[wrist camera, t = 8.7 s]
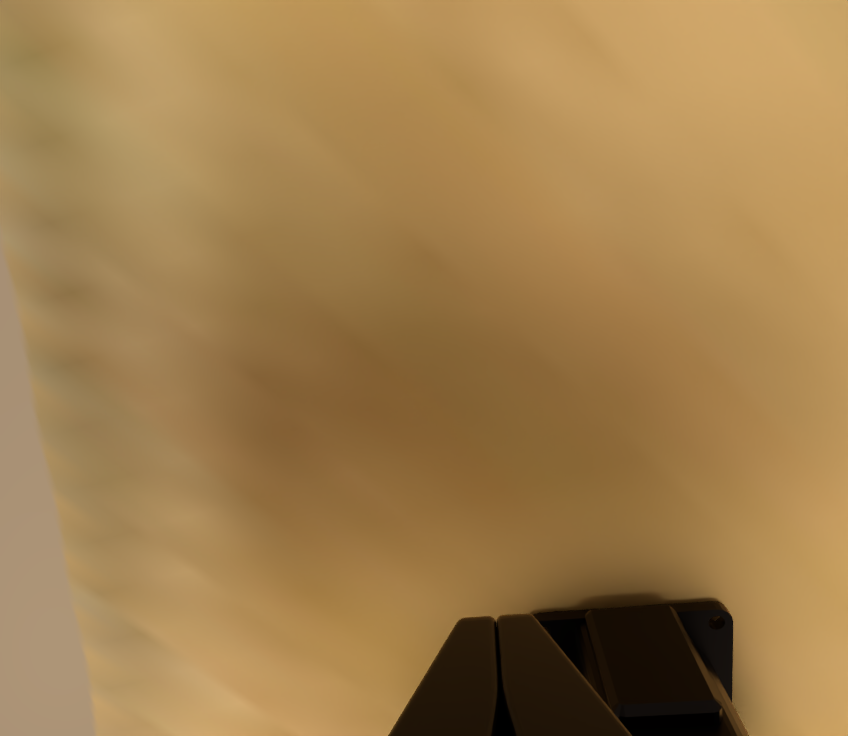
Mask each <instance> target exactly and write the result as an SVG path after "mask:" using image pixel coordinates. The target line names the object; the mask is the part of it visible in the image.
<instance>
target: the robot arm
mask: <svg viewBox="0 0 848 736" xmlns="http://www.w3.org/2000/svg"><path fill="white" fill-rule="evenodd" d="M715 616H720V617H719V618H718V619H717V620H715V621H709V620H710V619H711V618H712V617H715ZM496 624H497V626H496ZM543 627H544V628H547V630H545V629H544V628H543ZM732 665H733V619H732V616H731V614H730V613H729V611H728V610H727V608H726V607H725V606H724V605H723V604H721V603H719V602H713V601H711V602H696V603H681V604H663V605H648V606H633V607H618V608H603V609H591V610H576V611H561V612H546V613H537V614H534V615H531V614H513V615H502V616H499V617H498V619H497V623H496V621H495V619H494V618H493V617H491V616H484V617H469V618H462V619H460V620H459V621H458V622H457V623H456V625H455V627H454V628H453V630H452V632H451V633H450V635H449V637H448V638H447V640H446V642H445V643H444V645H443V646H442V648H441V650H440V651H439V653H438V655H437V656H436V658H435V660H434V661H433V663H432V665H431V666H430V668H429V670H428V671H427V673H426V674H425V676H424V678H423V679H422V681H421V683H420V684H419V686H418V688H417V689H416V691H415V693H414V694H413V696H412V697H411V699H410V701H409V702H408V704H407V706H406V707H405V709H404V711H403V712H402V714H401V716H400V717H399V719H398V721H397V722H396V724H395V725H394V727H393V729H392V730H391V732H390V734H389V735H388V736H749V735H748V733H747V731H746V729H745V727H744V725H743V723H742V721H741V719H740V717H739V716H738V714H737V712H736V710H735V708H734V706H733V704H732Z"/></svg>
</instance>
